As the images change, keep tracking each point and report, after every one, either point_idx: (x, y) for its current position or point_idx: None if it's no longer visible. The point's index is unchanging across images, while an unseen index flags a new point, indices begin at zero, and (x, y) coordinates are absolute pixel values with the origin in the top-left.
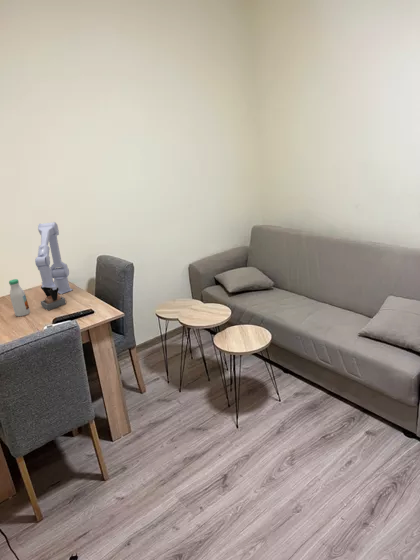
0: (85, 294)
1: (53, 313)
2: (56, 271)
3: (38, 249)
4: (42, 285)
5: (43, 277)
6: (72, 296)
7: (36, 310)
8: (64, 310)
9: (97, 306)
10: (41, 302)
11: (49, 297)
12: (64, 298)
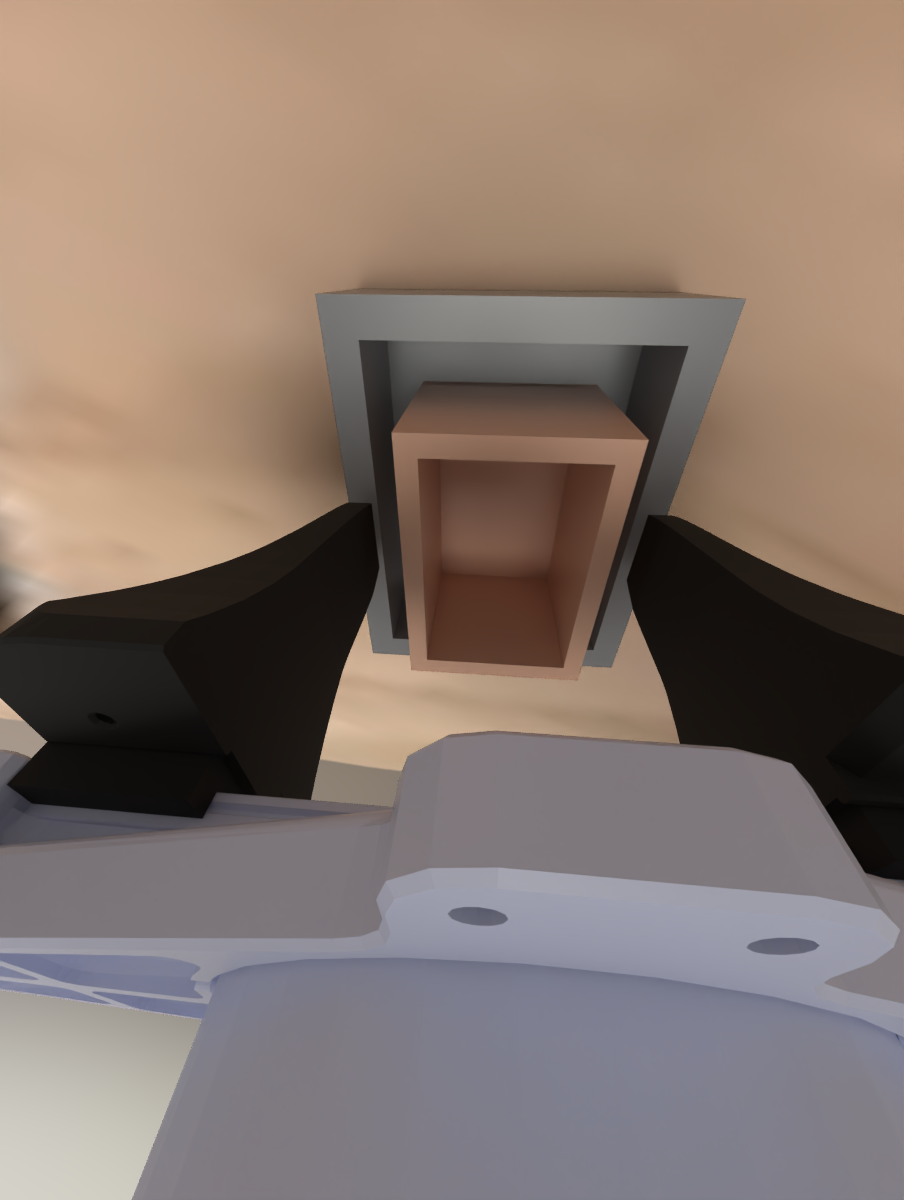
0: None
1: (128, 278)
2: None
3: None
4: (805, 980)
5: None
6: (542, 718)
7: (657, 45)
8: (157, 472)
9: None
10: (674, 296)
11: (587, 538)
12: (374, 649)
